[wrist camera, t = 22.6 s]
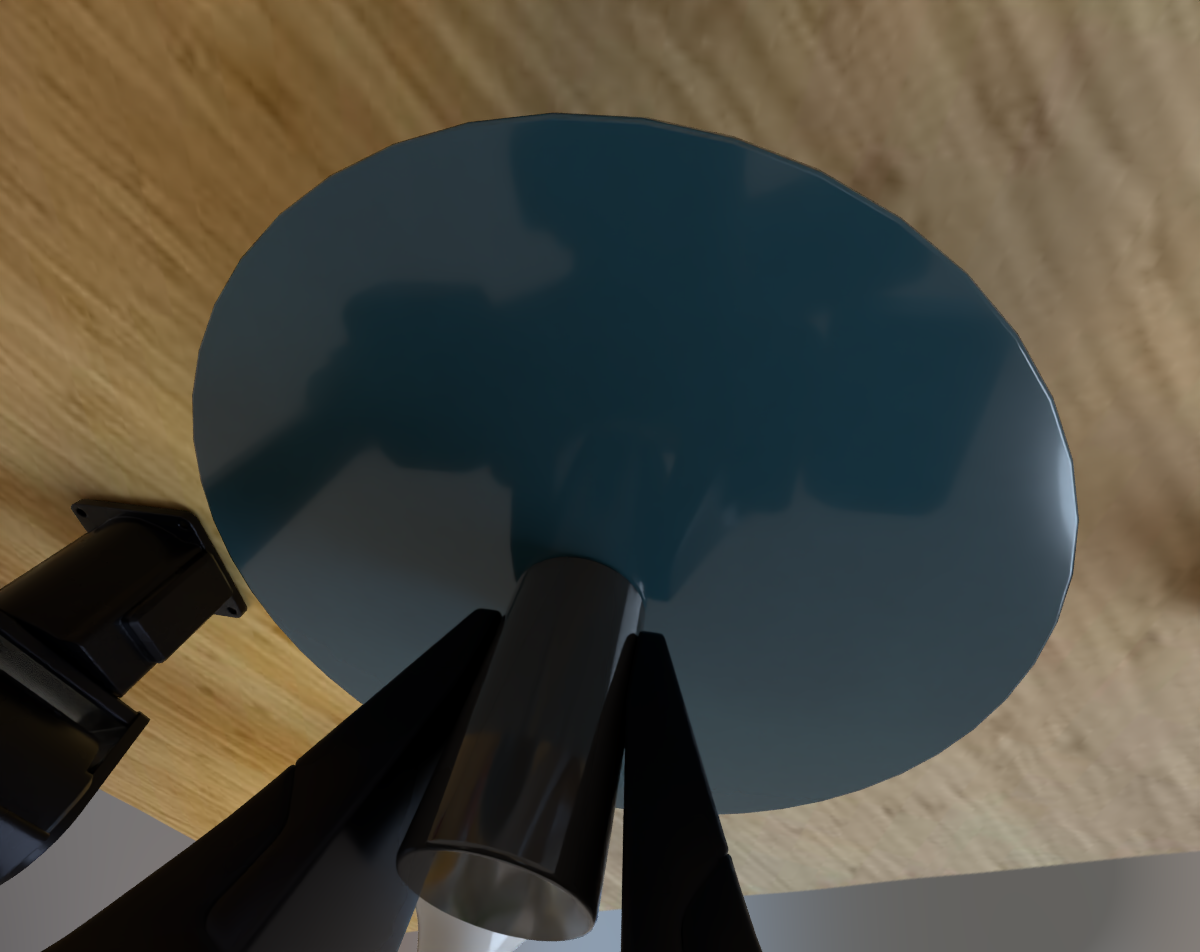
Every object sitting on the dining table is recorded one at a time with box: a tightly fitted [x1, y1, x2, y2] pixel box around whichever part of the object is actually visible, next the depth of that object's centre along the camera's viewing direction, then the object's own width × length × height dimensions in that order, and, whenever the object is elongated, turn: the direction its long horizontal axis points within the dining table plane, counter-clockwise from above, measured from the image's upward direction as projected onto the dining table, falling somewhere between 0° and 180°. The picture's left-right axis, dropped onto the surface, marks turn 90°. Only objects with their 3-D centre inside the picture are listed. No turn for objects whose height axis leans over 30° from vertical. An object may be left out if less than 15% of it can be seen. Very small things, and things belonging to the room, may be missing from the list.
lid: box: [192, 113, 1079, 941], centre depth 8 cm, size 15×15×6 cm
